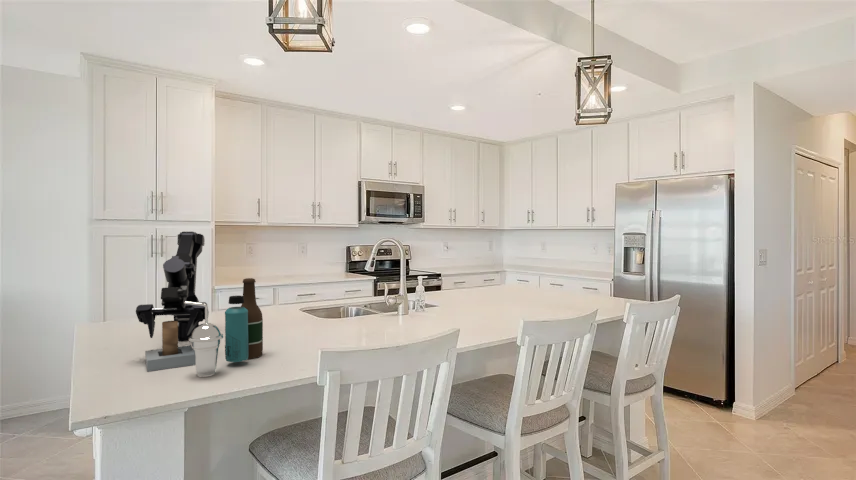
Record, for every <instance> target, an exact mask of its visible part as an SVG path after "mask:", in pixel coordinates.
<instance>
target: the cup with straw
mask: <svg viewBox="0 0 856 480" xmlns="http://www.w3.org/2000/svg"><path fill="white" fill-rule="evenodd" d="M185 304H190V305H199V306H204V307H205V319H204V323H201V324H199V326H197V327H196V328H195V329H194V331H193V333H192V335H191V336H190V337H189V340H188V341H189V342H190V343H191V347H192V349H193V350H194V356H195V364H196V365H195V372H196V373H197V374H196V377H198V378H199V377H200V378H206V377H211V376H214V375H215V374H216V369H217V363H218V356H219V347H220V345H221V340H222V339H223V338H224V334H223V333H222V332H221V331H220V329H219V328H218V326H217V325H216V324H214V323H210V322H209V314H208V311H209V308H208V307H209V306H208V304H207V305H206V304H204V303H196V302H187V301H185Z"/></svg>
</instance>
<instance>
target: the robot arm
mask: <svg viewBox="0 0 856 480" xmlns="http://www.w3.org/2000/svg"><path fill="white" fill-rule="evenodd" d="M176 245H178V247H177V251H176V253H175V255H172V256H171V258H170V259H167V260H166V261H165V262H164V263H163V264H162V268H163V273H164V276H165V280H166V282H167V287H162V288H161V291H160V300H161V306H162V307H158V308H156V307H154V305H153V303H151V304H149V303H148V304H139V305H137V306H136V309H135V315H136V317H137V319H138V322H139V323H143V324H144V325H147V327H148V332H149V337H150V339H153V336H154V334H155V333H154V332H155V327H156V322H155V320H156V316H173V321H178V342H182V341H189V337H190V336H191V335H192V333H193V331H194V329H195V328H196V327H197V326H199V325H200V324H199V323H201V322H202V323H203V321H205V307H204V306H199V305H190V304H185V301H187V302H196V303H204V304H206V305H207V306H208V303H207V302H206V301H203V302H202V301H200V300H199V299H198V297H197V295H196V287H197V286H196V283H197V281H196V280H197V267H198V266H197V265H198V264H197V263H198V257H199V256H200V255H201V253H202V252H203V247H205V236H204V234H202V233H197V232H196V231H182V232H179V234H177V244H176ZM209 313H210V311H209V310H208V315H209Z"/></svg>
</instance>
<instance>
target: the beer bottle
mask: <svg viewBox="0 0 856 480" xmlns="http://www.w3.org/2000/svg"><path fill="white" fill-rule="evenodd" d="M242 284H243V285H242V296H243V297H244V303H242V304H240V307H245V308H246V309H247V310H248V335H249V337H248V343H249V345H248V346H249V347H248V349H249V357H248V359H247V360H252V359H257V358H259V357H261V356H262V355H263V352H264V351H263V348H264V346H263V345H264V343H263V342H264V341H263V340H264V337H263V335H264V333H263V331H264V326H263V325H264V324H263V322H264V320H263V313H262V310H261V308H260V307H259V306H258V304H257V300H256V299H257V297H256V287H255V284H256V279H255V278H253V277H250V278H249V277H248V278H244V279H243V280H242Z"/></svg>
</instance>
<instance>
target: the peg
mask: <svg viewBox="0 0 856 480" xmlns="http://www.w3.org/2000/svg"><path fill="white" fill-rule="evenodd" d="M161 331H162V332H161V337H162V338H161V341H162V346H161V347H162V348H161V349H162V354H163V356H167V355H175V354H178V347H179V340H178V321H174V320H166V321H162V322H161Z"/></svg>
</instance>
